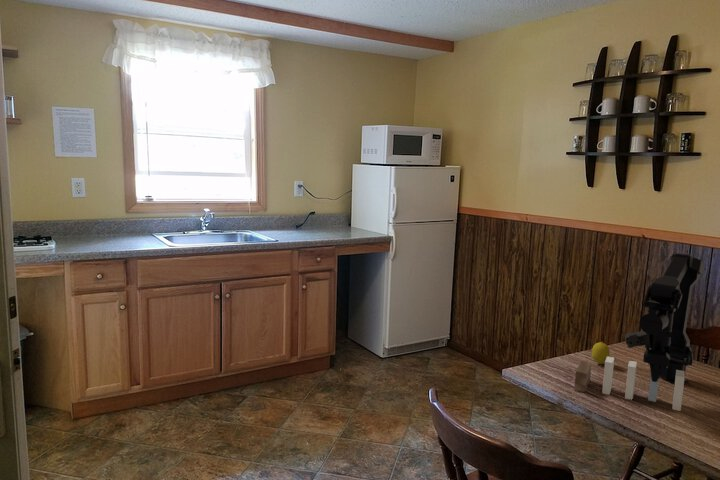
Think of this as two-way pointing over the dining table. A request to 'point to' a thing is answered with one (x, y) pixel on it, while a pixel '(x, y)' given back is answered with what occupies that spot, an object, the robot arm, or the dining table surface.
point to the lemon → (600, 352)
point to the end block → (582, 376)
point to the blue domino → (653, 390)
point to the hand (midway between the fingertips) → (654, 378)
